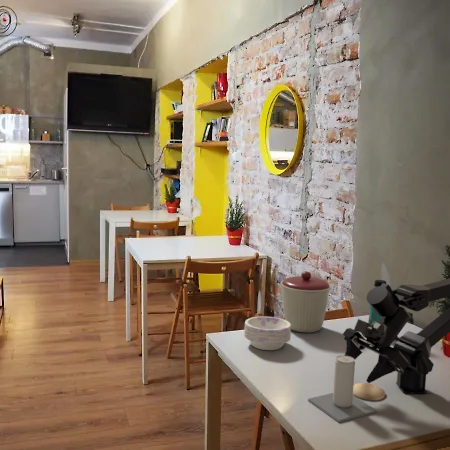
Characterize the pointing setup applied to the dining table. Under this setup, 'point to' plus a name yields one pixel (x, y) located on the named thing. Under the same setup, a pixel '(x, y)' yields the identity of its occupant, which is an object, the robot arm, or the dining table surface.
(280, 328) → the paper bowls
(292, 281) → the canister
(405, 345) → the robot arm
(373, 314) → the beverage bottle
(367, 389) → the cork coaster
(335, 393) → the beverage can
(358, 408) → the slate coaster
